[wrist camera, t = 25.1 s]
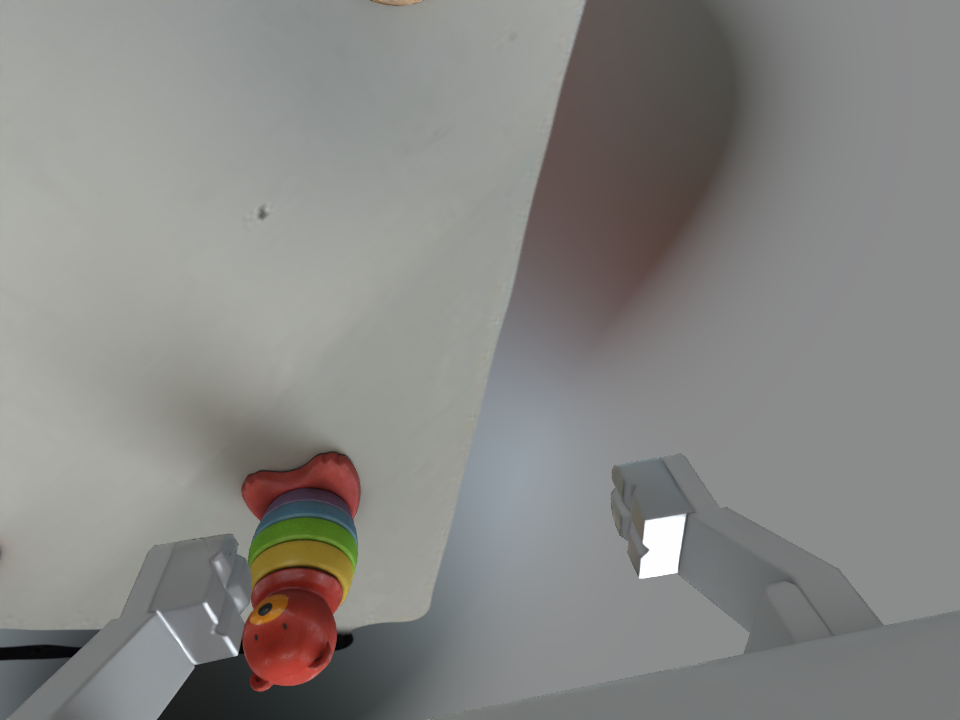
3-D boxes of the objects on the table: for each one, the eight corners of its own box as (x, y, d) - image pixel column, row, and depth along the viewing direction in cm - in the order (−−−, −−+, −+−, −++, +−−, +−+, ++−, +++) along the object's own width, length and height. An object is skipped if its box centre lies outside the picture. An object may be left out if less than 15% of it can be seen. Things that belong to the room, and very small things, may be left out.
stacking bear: (344, 445, 53) (329, 620, 38) (380, 515, 58) (379, 690, 44) (234, 477, 53) (177, 662, 38) (280, 543, 58) (246, 727, 44)
